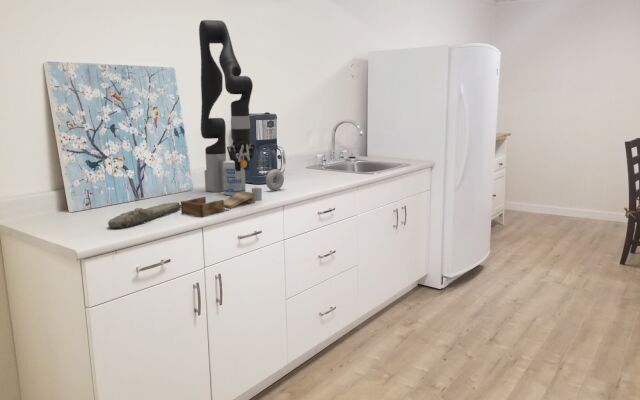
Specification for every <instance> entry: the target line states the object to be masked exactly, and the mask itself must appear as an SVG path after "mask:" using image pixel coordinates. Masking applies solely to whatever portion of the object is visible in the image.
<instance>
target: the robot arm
mask: <svg viewBox="0 0 640 400" xmlns="http://www.w3.org/2000/svg"><path fill="white" fill-rule="evenodd" d="M198 26H199V27H198V28H199V29H198V34H199V35H198V36H199V39H198V40H199V47H200V48H199V49H200V90H201V91H200V93H201V96H200V97H201V110H200V111H201V112H200V113H201V115H200V116H201V117H200V134H201V137H202V138H203V139H204V140H208V139H214V140H215V139H217V141H216V142H215V143H213V144H211V145H208V146H206V147H205V168H206V169H205V170H204V187H205V191H206V192H211V193H218V192H219V193H220V192H221V193H222V192H224V181H223V162H224V161H227V153H228V156H229V159H230V160H229V161H231V160H232V161H234V162H235V170H236V171H241V163H240V159H244V160H246V162H247V166H246V168H244V170H245V171H249V170H250V160H252V159H253V158H254V153H255V148H256V144H254V143H253V144H252V143H251V141H250V139H251V138H252V137H251V121H250V120H251V119H250V110H249V109H250V102H251V101H250V100H251V95H252V92H253V87H254V86H253V81H252V79H251V77H249V76H246V75H241V74H242V68H241V66H240V63H239V61H238V59H237V57H236V55H235V51H234V48H233V43H232V39H231V36H230V33H229V29H228V26H227V24H226V23H225V22H224V21H223V20H218V19H217V20H214V19H213V20H212V19H211V20H209V19H205V20H204V19H203V20H201V21H200V23H199V25H198ZM210 44H221V45H222V49H221V51H220V54H219V57H218V61H219V66H220V68H219V66H218V63H216V61H215V60H214V59H215V58H214V57H213V54H212V52H211V46H210ZM221 70H222V71H221ZM223 76H224V84H223ZM223 85H224V87H225V90H226V92H227V93H229V94H230V95H241V96H240V98H239V99H237V100H233V101H231V103H230V115H231V116H230V134H231V140H232V143H231V145H230V146H229V145H228V146H227V147H226V145H227V144H226V140H227V139H226V138H227V137H226V131H227V129H226V128H227V127H226V126H227V125H226V121H225V119H224V118H222V117H210V115H211V111H212V108H213V107H214V105H215V103H216V102H217V101H218V100H219V97H220V96H221V94H222V92H223Z"/></svg>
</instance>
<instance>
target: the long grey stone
mask: <svg viewBox="0 0 640 400" xmlns="http://www.w3.org/2000/svg"><path fill="white" fill-rule="evenodd" d="M180 209H181V203H180V202H177V201H175V202H168V203H161V204H159V205H154V206H151V207H147V208H142V207H140V208H139V207H137V208H135V209H133V210H129V211H126V212H124V213H120V214H119V215H117V216H114V217H113V218H110V219H109V220H108V223H107V225H108V227H109V228H120V229H122V228H127V227H134V226H133V225H135V226H138V225H140V224H145V223H148V221H152V220H155V219H156V218H157V217H163V216H165V215H168V214H169V215H170V214H173V213H175V212H177V211H180ZM144 222H145V223H144ZM137 224H138V225H137Z"/></svg>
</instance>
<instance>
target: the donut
mask: <svg viewBox="0 0 640 400" xmlns="http://www.w3.org/2000/svg"><path fill="white" fill-rule="evenodd" d="M274 178H276V181H275V182H274ZM284 181H285V177H284V174H283V172H282V171H281V170H280V169H275V168H274V169H271V170H270V171H268V173H267V174H266V177H265V185H266V188H268V189H269V190H271V191H278V190H280V189H281V188H282V186H283V185H284Z"/></svg>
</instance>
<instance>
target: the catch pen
mask: <svg viewBox="0 0 640 400" xmlns="http://www.w3.org/2000/svg"><path fill="white" fill-rule="evenodd" d="M224 200H225V199H219V200H215V201H209V202H206V196H201V197H197V198H191V199H187V200H182V201H181V200H180V205H181V208H180V209H181V214H183V215H188V216H192V217H193V216H194V217H199V218H204V217H208V216H211V215H212V216H213V215H216V214H219V213H225V211H224V209H225V207H224Z"/></svg>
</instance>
